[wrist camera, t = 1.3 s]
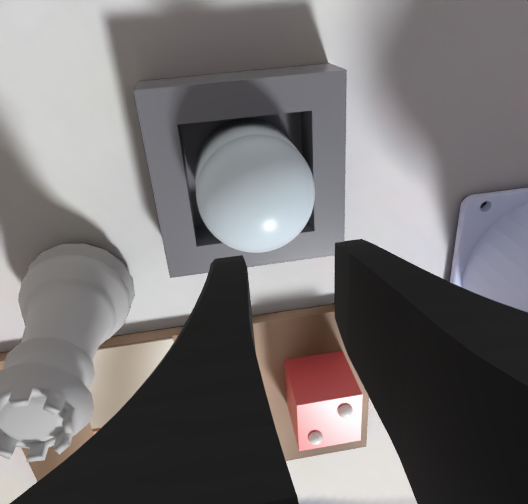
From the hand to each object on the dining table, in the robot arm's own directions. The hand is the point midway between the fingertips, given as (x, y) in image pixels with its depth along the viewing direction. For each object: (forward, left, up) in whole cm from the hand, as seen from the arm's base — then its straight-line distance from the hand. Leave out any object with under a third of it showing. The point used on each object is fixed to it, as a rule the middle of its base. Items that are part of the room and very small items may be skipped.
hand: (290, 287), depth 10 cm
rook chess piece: (+8, +5, -10) cm, 13 cm away
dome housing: (0, 0, -9) cm, 9 cm away
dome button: (0, 0, -9) cm, 9 cm away
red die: (-2, +12, -9) cm, 15 cm away
